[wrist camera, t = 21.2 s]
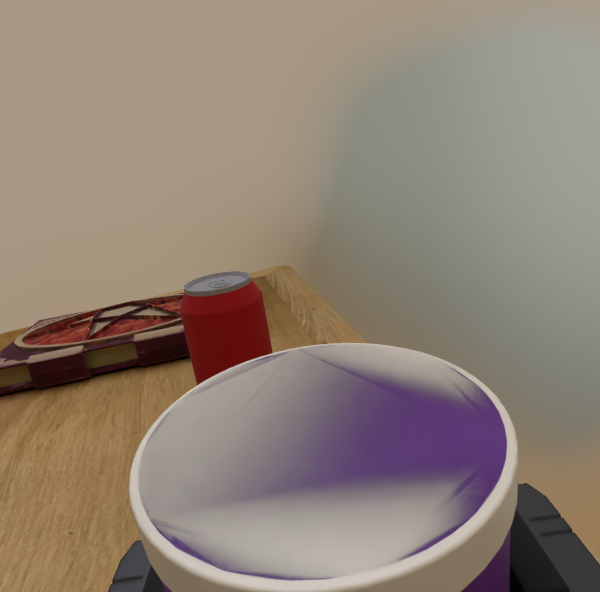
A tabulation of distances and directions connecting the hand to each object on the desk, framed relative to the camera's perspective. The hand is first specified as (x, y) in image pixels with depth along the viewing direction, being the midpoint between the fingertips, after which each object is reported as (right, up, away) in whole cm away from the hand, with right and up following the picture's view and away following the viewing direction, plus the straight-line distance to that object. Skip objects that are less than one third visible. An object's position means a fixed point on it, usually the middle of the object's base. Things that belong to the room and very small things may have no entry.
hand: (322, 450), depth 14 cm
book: (-24, -1, +45) cm, 51 cm away
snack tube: (+2, -11, -2) cm, 12 cm away
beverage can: (-6, -5, +24) cm, 25 cm away
